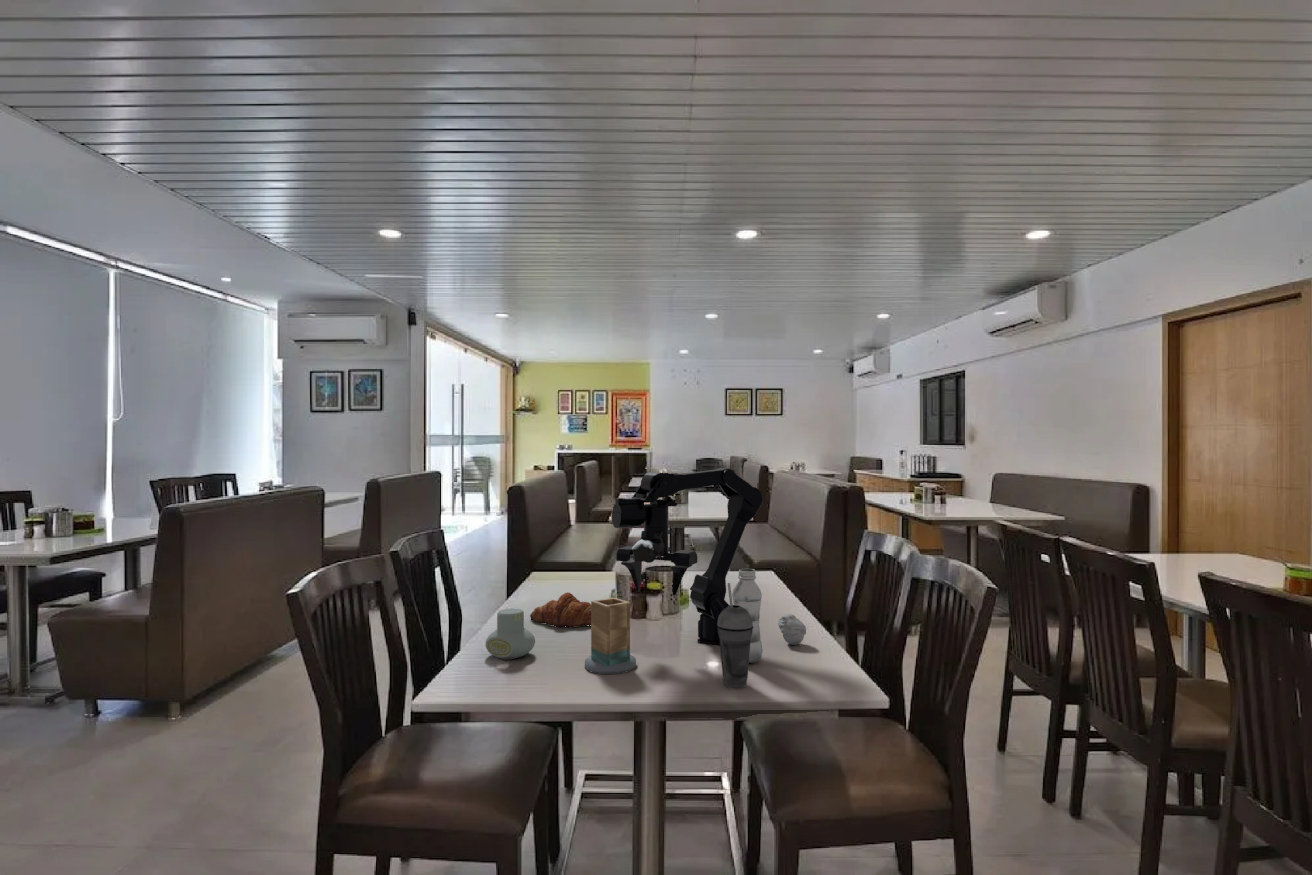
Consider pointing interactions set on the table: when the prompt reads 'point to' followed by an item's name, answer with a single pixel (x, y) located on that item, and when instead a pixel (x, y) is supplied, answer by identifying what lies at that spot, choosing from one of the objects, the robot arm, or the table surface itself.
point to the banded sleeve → (610, 631)
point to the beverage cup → (734, 644)
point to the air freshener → (510, 636)
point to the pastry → (563, 612)
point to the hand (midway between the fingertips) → (656, 593)
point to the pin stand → (612, 669)
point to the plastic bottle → (750, 608)
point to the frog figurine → (792, 629)
